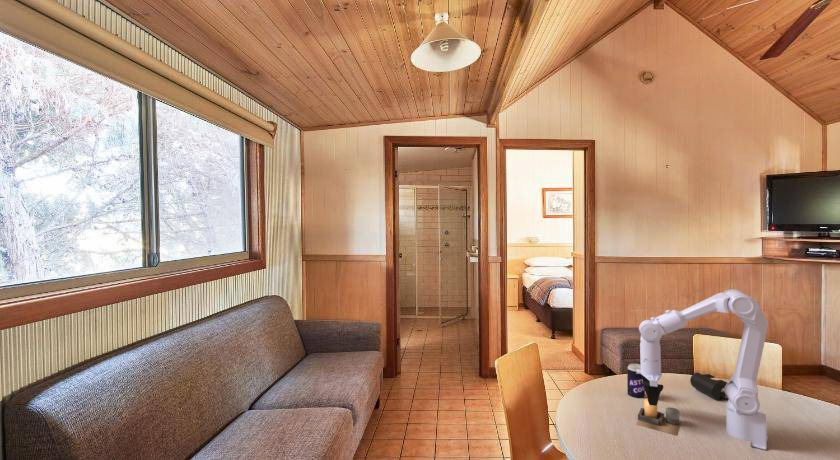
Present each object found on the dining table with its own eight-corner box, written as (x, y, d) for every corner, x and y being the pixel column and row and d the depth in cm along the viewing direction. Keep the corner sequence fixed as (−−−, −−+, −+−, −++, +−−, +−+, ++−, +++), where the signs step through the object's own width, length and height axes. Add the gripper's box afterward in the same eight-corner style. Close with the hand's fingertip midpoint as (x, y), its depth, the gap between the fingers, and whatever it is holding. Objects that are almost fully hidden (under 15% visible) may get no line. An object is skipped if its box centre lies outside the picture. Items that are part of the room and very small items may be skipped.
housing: (680, 425, 125) (680, 409, 125) (677, 439, 118) (677, 422, 117) (641, 415, 132) (641, 400, 132) (635, 428, 125) (635, 412, 124)
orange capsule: (643, 415, 130) (643, 397, 130) (656, 417, 129) (655, 399, 128) (645, 420, 127) (645, 402, 126) (658, 422, 125) (658, 404, 125)
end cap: (689, 390, 150) (689, 372, 150) (706, 388, 151) (706, 371, 151) (711, 402, 140) (711, 383, 140) (729, 400, 141) (729, 382, 141)
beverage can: (627, 399, 144) (627, 367, 143) (627, 393, 149) (627, 362, 148) (645, 402, 141) (645, 369, 141) (644, 396, 146) (644, 364, 146)
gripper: (634, 349, 135) (635, 388, 135) (638, 364, 122) (639, 407, 122) (657, 352, 132) (658, 391, 133) (665, 367, 119) (665, 411, 119)
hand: (651, 399), depth 127 cm, fingers open, 7 cm apart
